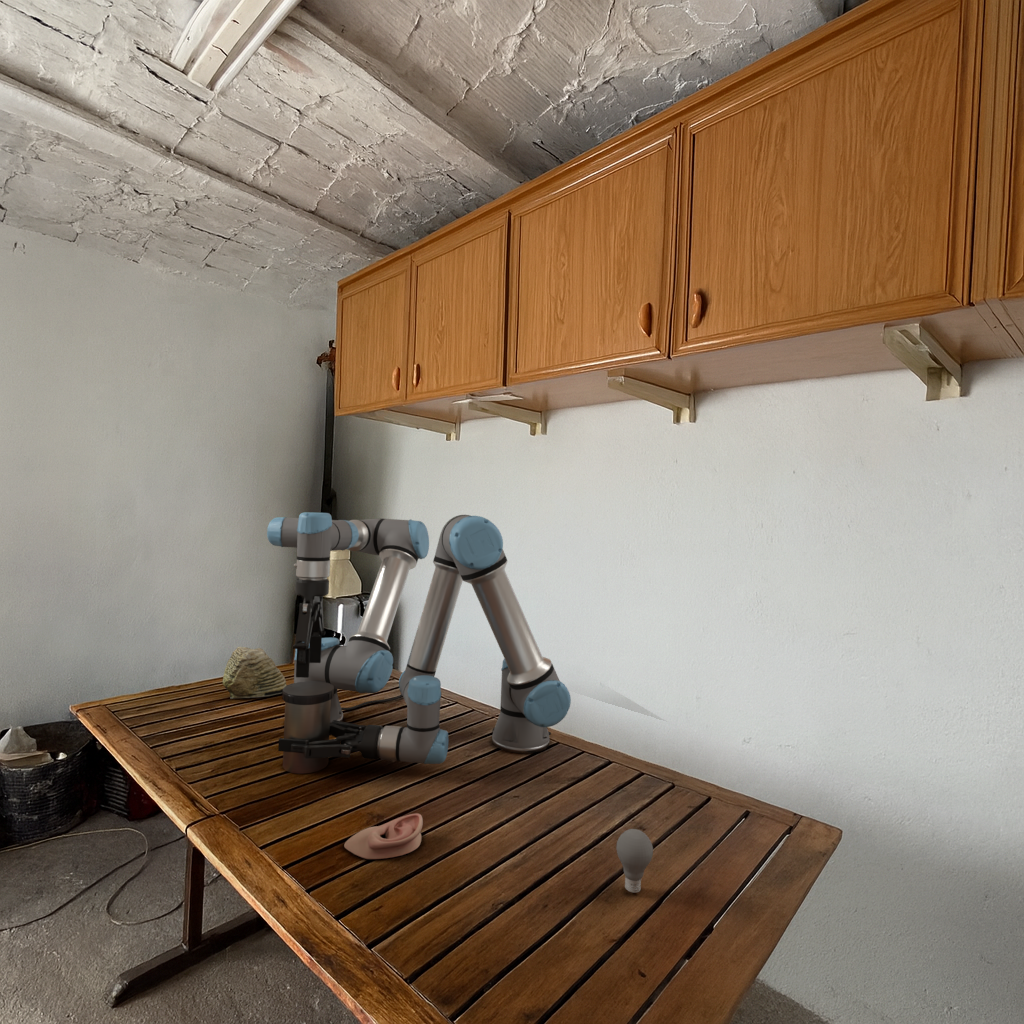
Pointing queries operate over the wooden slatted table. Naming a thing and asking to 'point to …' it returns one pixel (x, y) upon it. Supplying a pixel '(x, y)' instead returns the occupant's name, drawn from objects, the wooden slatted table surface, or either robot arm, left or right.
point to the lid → (308, 692)
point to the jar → (306, 734)
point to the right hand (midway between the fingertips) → (289, 735)
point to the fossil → (252, 674)
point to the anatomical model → (387, 838)
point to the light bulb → (634, 857)
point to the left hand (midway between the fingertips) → (308, 669)
